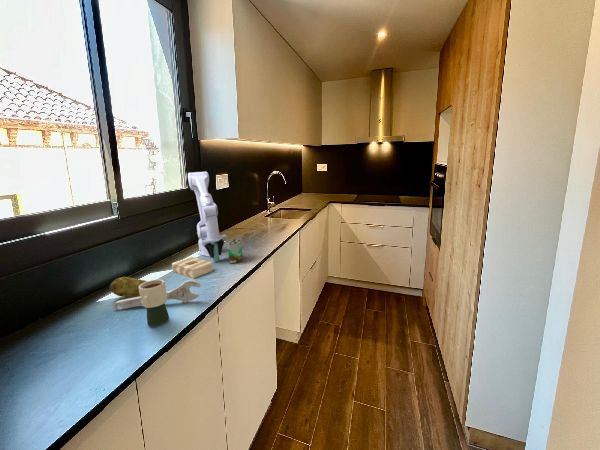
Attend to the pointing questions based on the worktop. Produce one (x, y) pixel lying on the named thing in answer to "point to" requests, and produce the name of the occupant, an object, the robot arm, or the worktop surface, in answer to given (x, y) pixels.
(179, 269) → the hole block
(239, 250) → the food container
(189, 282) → the wrench
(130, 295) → the potato
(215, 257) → the peg
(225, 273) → the worktop surface
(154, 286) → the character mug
